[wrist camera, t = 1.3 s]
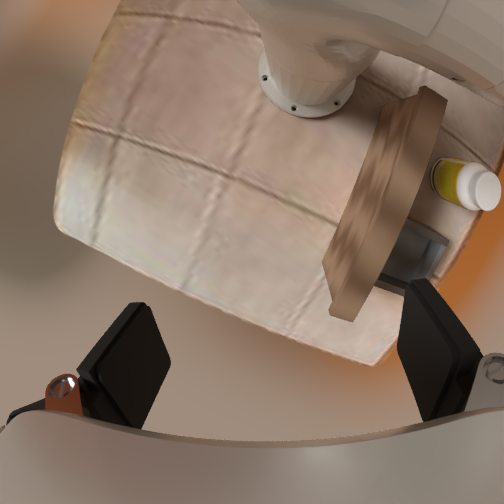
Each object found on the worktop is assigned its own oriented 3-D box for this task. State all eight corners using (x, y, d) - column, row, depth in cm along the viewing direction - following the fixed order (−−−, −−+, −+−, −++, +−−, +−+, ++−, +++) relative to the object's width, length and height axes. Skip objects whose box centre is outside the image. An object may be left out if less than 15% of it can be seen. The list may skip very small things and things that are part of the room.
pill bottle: (436, 204, 36) (477, 226, 25) (423, 165, 34) (464, 176, 24) (465, 188, 34) (509, 206, 24) (453, 151, 32) (498, 158, 22)
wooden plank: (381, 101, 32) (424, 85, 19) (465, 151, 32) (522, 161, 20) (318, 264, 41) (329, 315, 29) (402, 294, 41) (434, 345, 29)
